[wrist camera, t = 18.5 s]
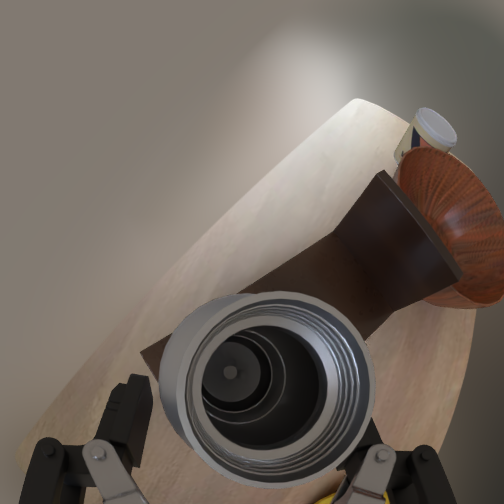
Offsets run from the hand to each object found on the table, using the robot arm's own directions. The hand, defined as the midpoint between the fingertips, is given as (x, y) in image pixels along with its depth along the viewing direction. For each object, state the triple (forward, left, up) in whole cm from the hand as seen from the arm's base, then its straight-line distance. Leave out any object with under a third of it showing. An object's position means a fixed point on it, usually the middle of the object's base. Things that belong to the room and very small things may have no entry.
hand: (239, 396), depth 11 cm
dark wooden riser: (+4, +6, -20) cm, 21 cm away
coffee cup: (+23, +46, -20) cm, 55 cm away
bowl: (+25, +26, -20) cm, 41 cm away
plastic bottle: (0, +1, -12) cm, 12 cm away
